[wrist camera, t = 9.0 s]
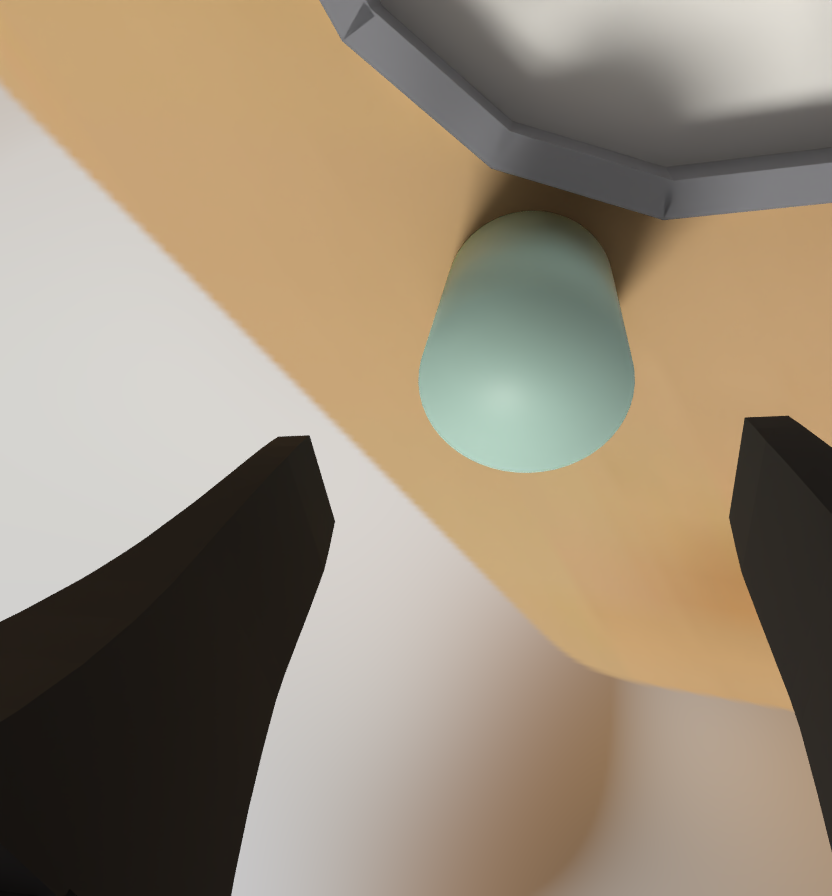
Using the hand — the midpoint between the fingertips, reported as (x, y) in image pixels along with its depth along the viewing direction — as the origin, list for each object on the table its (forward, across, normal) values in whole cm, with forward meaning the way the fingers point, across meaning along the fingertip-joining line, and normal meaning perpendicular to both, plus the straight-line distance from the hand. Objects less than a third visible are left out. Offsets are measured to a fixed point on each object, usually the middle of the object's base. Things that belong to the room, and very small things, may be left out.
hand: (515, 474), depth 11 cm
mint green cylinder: (+8, 0, 0) cm, 8 cm away
